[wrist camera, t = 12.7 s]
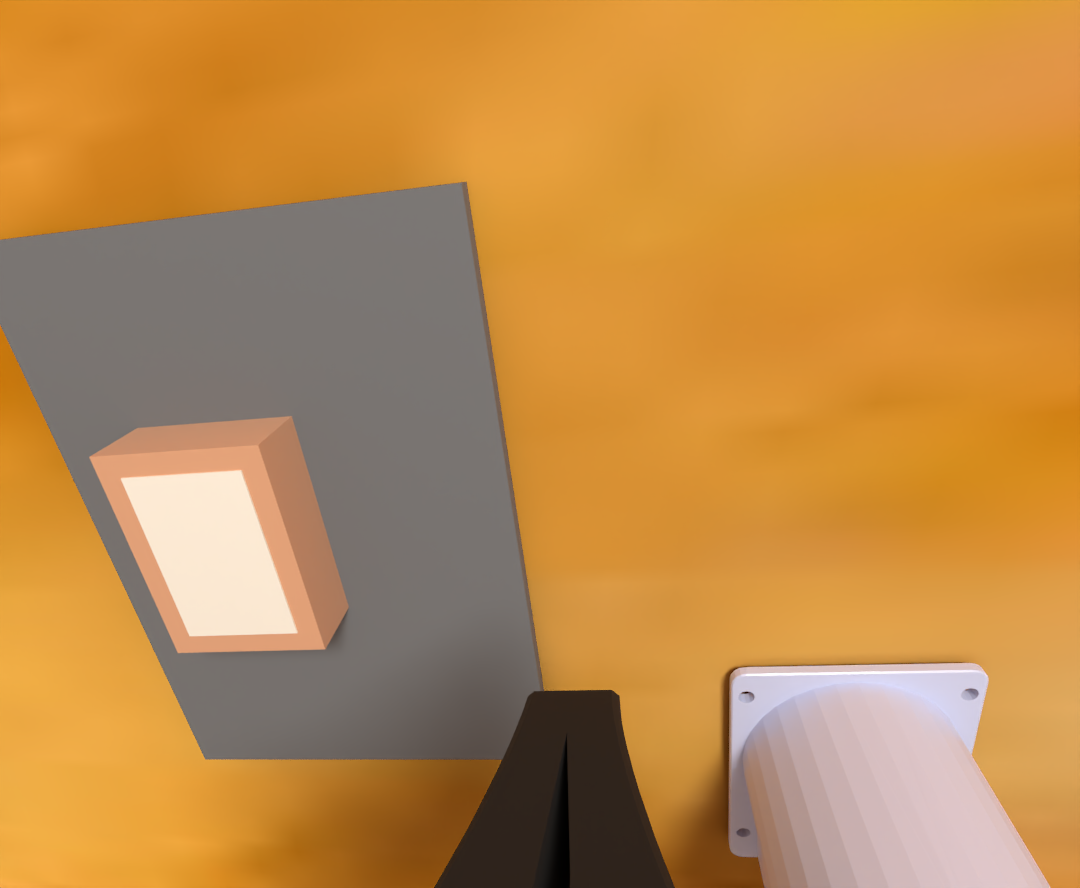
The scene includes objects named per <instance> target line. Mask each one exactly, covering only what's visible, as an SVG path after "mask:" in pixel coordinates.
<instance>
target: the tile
mask: <svg viewBox="0 0 1080 888" xmlns="http://www.w3.org/2000/svg"><path fill="white" fill-rule="evenodd" d="M89 458H90V460H91V462H92V464H93V467H94V469H95V471H96V473H97V476H98V478H99V480H100V482H101V484H102V487H103V489H104V491H105V493H106V495H107V498H108V500H109V502H110V504H111V506H112V509H113V511H114V513H115V515H116V517H117V520H118V522H119V524H120V526H121V528H122V531H123V533H124V535H125V537H126V540H127V542H128V544H129V546H130V548H131V551H132V553H133V555H134V557H135V559H136V562H137V564H138V566H139V568H140V570H141V573H142V575H143V577H144V579H145V581H146V584H147V586H148V588H149V590H150V592H151V595H152V597H153V599H154V601H155V603H156V606H157V608H158V610H159V612H160V615H161V617H162V619H163V621H164V623H165V626H166V628H167V630H168V632H169V634H170V637H171V639H172V641H173V643H174V645H175V648H176V650H177V652H178V653H198V652H239V651H280V650H321V649H326V647H327V645H328V644H329V642H330V640H331V638H332V637H333V635H334V633H335V631H336V629H337V628H338V626H339V624H340V622H341V620H342V619H343V617H344V615H345V613H346V612H347V610H348V608H349V606H348V603H347V599H346V596H345V593H344V589H343V586H342V583H341V579H340V576H339V573H338V569H337V566H336V563H335V559H334V556H333V553H332V549H331V546H330V543H329V539H328V536H327V532H326V529H325V526H324V522H323V519H322V516H321V512H320V509H319V506H318V502H317V499H316V496H315V492H314V489H313V486H312V482H311V479H310V476H309V472H308V469H307V466H306V462H305V459H304V456H303V452H302V449H301V446H300V442H299V439H298V436H297V432H296V429H295V425H294V422H293V419H292V416H287V417H274V418H261V419H248V420H235V421H222V422H209V423H196V424H183V425H170V426H157V427H144V428H137V429H135V430H133V431H132V432H130V433H128V434H127V435H125V436H123V437H122V438H120V439H118V440H117V441H115V442H113V443H112V444H110V445H108V446H107V447H105V448H103V449H102V450H100V451H98V452H97V453H95V454H93V455H92V456H90V457H89Z"/></svg>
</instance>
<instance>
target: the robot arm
mask: <svg viewBox="0 0 1080 888" xmlns="http://www.w3.org/2000/svg"><path fill="white" fill-rule="evenodd" d="M987 686H988V676H987V674H986V673H985V672H984V670H983V669H982V668H981V666H979V665H977V664H974V663H939V664H885V665H831V666H777V667H742V668H738V669H736V670H734V671H733V672H732V673H731V675H730V691H729V820H728V841H729V847H730V851H731V852H732V853H733V854H734V855H737V856H740V857H758V860H759V865H760V870H761V874H762V879H763V884H764V888H1051V887H1050V886H1049V884H1048V882H1047V881H1046V879H1045V877H1044V876H1043V874H1042V872H1041V870H1040V869H1039V867H1038V865H1037V864H1036V862H1035V860H1034V859H1033V857H1032V855H1031V854H1030V852H1029V850H1028V849H1027V847H1026V845H1025V844H1024V842H1023V840H1022V839H1021V837H1020V835H1019V834H1018V832H1017V830H1016V829H1015V827H1014V825H1013V824H1012V822H1011V820H1010V819H1009V817H1008V815H1007V814H1006V812H1005V810H1004V809H1003V807H1002V805H1001V804H1000V802H999V800H998V799H997V797H996V795H995V794H994V792H993V790H992V789H991V787H990V785H989V784H988V782H987V780H986V779H985V777H984V775H983V774H982V772H981V770H980V769H979V767H978V765H977V764H976V762H975V760H974V759H973V757H972V751H973V747H974V743H975V738H976V734H977V729H978V725H979V721H980V716H981V712H982V708H983V703H984V699H985V695H986V690H987ZM966 689H968V690H966ZM964 690H966V691H964ZM746 691H748V692H749V693H747V694H741V693H742V692H746ZM434 888H675V887H674V884H673V882H672V880H671V877H670V875H669V872H668V870H667V867H666V865H665V862H664V860H663V857H662V854H661V852H660V849H659V846H658V844H657V841H656V838H655V836H654V833H653V830H652V827H651V824H650V821H649V818H648V815H647V813H646V810H645V807H644V804H643V801H642V798H641V795H640V792H639V789H638V786H637V782H636V779H635V776H634V772H633V769H632V765H631V761H630V757H629V754H628V750H627V746H626V741H625V737H624V732H623V727H622V721H621V710H620V698H619V695H617V694H616V693H615V692H614V691H612V690H582V691H534V692H533V693H531V694H530V695H529V696H528V697H527V700H526V703H525V706H524V709H523V712H522V714H521V717H520V720H519V722H518V725H517V727H516V730H515V732H514V734H513V737H512V739H511V741H510V744H509V746H508V748H507V751H506V753H505V755H504V757H503V759H502V761H501V764H500V766H499V768H498V770H497V772H496V774H495V776H494V778H493V780H492V782H491V784H490V786H489V788H488V790H487V792H486V794H485V796H484V798H483V800H482V802H481V804H480V806H479V808H478V810H477V812H476V814H475V816H474V818H473V820H472V822H471V824H470V826H469V828H468V829H467V831H466V833H465V835H464V836H463V838H462V840H461V842H460V844H459V845H458V847H457V849H456V851H455V852H454V854H453V856H452V858H451V859H450V861H449V863H448V865H447V866H446V868H445V870H444V872H443V873H442V875H441V877H440V879H439V880H438V882H437V884H436V885H435V887H434Z"/></svg>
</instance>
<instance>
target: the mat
mask: <svg viewBox="0 0 1080 888" xmlns="http://www.w3.org/2000/svg"><path fill="white" fill-rule="evenodd" d="M0 325H1V327H2V329H3V331H4V333H5V336H6V338H7V340H8V342H9V344H10V346H11V348H12V350H13V352H14V355H15V357H16V359H17V361H18V363H19V365H20V367H21V369H22V372H23V374H24V376H25V378H26V380H27V382H28V384H29V386H30V389H31V391H32V393H33V395H34V397H35V399H36V401H37V403H38V405H39V408H40V410H41V412H42V414H43V416H44V418H45V420H46V422H47V425H48V427H49V429H50V431H51V433H52V435H53V437H54V439H55V442H56V444H57V446H58V448H59V450H60V452H61V454H62V456H63V458H64V461H65V463H66V465H67V467H68V469H69V471H70V473H71V475H72V478H73V480H74V482H75V484H76V486H77V488H78V490H79V492H80V494H81V497H82V499H83V501H84V503H85V505H86V507H87V509H88V511H89V514H90V516H91V518H92V520H93V522H94V524H95V526H96V528H97V531H98V533H99V535H100V537H101V539H102V541H103V543H104V545H105V547H106V550H107V552H108V554H109V556H110V558H111V560H112V562H113V564H114V567H115V569H116V571H117V573H118V575H119V577H120V579H121V581H122V584H123V586H124V588H125V590H126V592H127V594H128V596H129V598H130V600H131V603H132V605H133V607H134V609H135V611H136V613H137V615H138V617H139V620H140V622H141V624H142V626H143V628H144V630H145V632H146V634H147V637H148V639H149V641H150V643H151V645H152V647H153V649H154V651H155V653H156V656H157V658H158V660H159V662H160V664H161V666H162V668H163V670H164V673H165V675H166V677H167V679H168V681H169V683H170V685H171V687H172V690H173V692H174V694H175V696H176V698H177V700H178V702H179V704H180V706H181V709H182V711H183V713H184V715H185V717H186V719H187V721H188V723H189V726H190V728H191V730H192V732H193V734H194V736H195V738H196V740H197V742H198V745H199V747H200V749H201V751H202V753H203V755H204V757H205V759H503V757H504V755H505V753H506V751H507V748H508V746H509V744H510V741H511V739H512V737H513V734H514V732H515V730H516V727H517V725H518V722H519V720H520V717H521V714H522V712H523V709H524V706H525V703H526V700H527V697H528V696H529V695H530V694H531V693H533V692H534V691H544V688H543V682H542V675H541V669H540V662H539V656H538V649H537V642H536V636H535V629H534V623H533V616H532V610H531V603H530V596H529V590H528V583H527V577H526V570H525V564H524V557H523V550H522V544H521V537H520V531H519V524H518V518H517V511H516V504H515V498H514V491H513V485H512V478H511V472H510V465H509V458H508V452H507V445H506V439H505V432H504V426H503V419H502V412H501V406H500V399H499V393H498V386H497V380H496V373H495V366H494V360H493V353H492V347H491V340H490V334H489V327H488V321H487V314H486V307H485V301H484V294H483V288H482V281H481V275H480V268H479V261H478V255H477V248H476V242H475V235H474V229H473V222H472V215H471V209H470V202H469V196H468V189H467V183H466V182H461V183H453V184H445V185H437V186H429V187H421V188H413V189H405V190H397V191H389V192H381V193H373V194H365V195H357V196H349V197H341V198H333V199H325V200H317V201H309V202H301V203H293V204H285V205H276V206H268V207H260V208H252V209H244V210H236V211H228V212H220V213H212V214H204V215H196V216H188V217H180V218H172V219H164V220H156V221H148V222H140V223H132V224H124V225H116V226H108V227H100V228H92V229H84V230H76V231H68V232H59V233H51V234H43V235H35V236H27V237H19V238H11V239H3V240H0ZM287 416H292V419H293V422H294V425H295V429H296V432H297V436H298V439H299V442H300V446H301V449H302V452H303V456H304V459H305V462H306V466H307V469H308V472H309V476H310V479H311V482H312V486H313V489H314V492H315V496H316V499H317V502H318V506H319V509H320V512H321V516H322V519H323V522H324V526H325V529H326V532H327V536H328V539H329V543H330V546H331V549H332V553H333V556H334V559H335V563H336V566H337V569H338V573H339V576H340V579H341V583H342V586H343V589H344V593H345V596H346V599H347V603H348V606H349V608H348V610H347V612H346V613H345V615H344V617H343V619H342V620H341V622H340V624H339V626H338V628H337V629H336V631H335V633H334V635H333V637H332V638H331V640H330V642H329V644H328V645H327V647H326V649H321V650H280V651H239V652H198V653H178V652H177V650H176V648H175V645H174V643H173V641H172V639H171V637H170V634H169V632H168V630H167V628H166V626H165V623H164V621H163V619H162V617H161V615H160V612H159V610H158V608H157V606H156V603H155V601H154V599H153V597H152V595H151V592H150V590H149V588H148V586H147V584H146V581H145V579H144V577H143V575H142V573H141V570H140V568H139V566H138V564H137V562H136V559H135V557H134V555H133V553H132V551H131V548H130V546H129V544H128V542H127V540H126V537H125V535H124V533H123V531H122V528H121V526H120V524H119V522H118V520H117V517H116V515H115V513H114V511H113V509H112V506H111V504H110V502H109V500H108V498H107V495H106V493H105V491H104V489H103V487H102V484H101V482H100V480H99V478H98V476H97V473H96V471H95V469H94V467H93V464H92V462H91V460H90V458H89V457H90V456H92V455H93V454H95V453H97V452H98V451H100V450H102V449H103V448H105V447H107V446H108V445H110V444H112V443H113V442H115V441H117V440H118V439H120V438H122V437H123V436H125V435H127V434H128V433H130V432H132V431H133V430H135V429H137V428H144V427H157V426H170V425H183V424H196V423H209V422H222V421H235V420H248V419H261V418H274V417H287Z"/></svg>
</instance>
